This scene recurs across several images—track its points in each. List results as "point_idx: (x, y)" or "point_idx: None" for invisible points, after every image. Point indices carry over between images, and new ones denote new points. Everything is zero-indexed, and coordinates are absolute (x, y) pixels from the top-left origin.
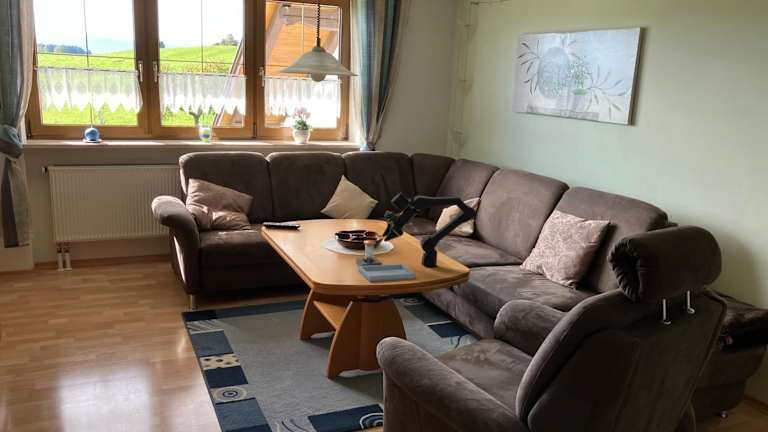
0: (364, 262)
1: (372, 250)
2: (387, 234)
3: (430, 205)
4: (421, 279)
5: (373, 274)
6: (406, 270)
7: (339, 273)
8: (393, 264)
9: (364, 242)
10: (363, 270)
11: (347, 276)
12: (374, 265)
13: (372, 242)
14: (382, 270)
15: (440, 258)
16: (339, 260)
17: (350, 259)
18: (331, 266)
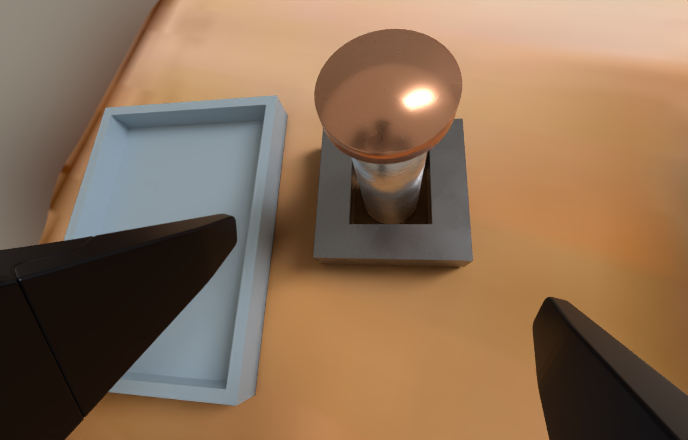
0: None
1: (354, 163)
2: (557, 433)
3: None
4: None
5: (193, 164)
6: (135, 376)
7: (295, 33)
8: (242, 324)
9: (376, 37)
10: (198, 102)
11: (241, 57)
12: (264, 185)
13: (328, 106)
14: (240, 235)
15: None
16: (546, 64)
17: (567, 129)
18: (421, 14)
